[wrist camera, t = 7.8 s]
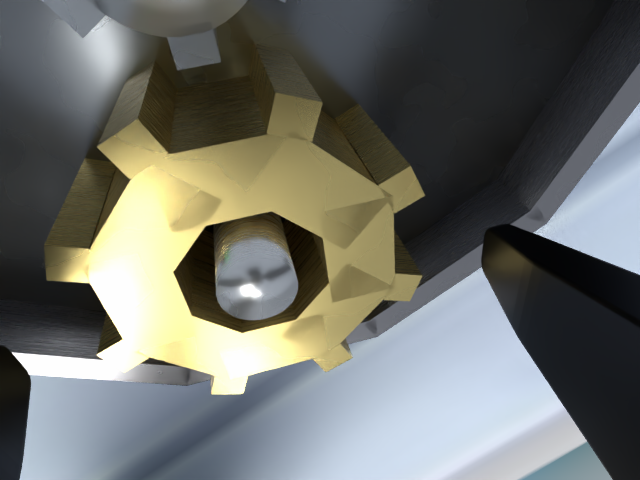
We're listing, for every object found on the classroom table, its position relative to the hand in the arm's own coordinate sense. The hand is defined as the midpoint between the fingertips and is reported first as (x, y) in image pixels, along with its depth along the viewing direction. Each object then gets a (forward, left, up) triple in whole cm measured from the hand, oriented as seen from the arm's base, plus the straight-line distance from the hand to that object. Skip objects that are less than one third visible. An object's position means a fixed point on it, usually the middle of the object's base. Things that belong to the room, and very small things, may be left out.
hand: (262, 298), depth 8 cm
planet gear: (0, 0, -4) cm, 4 cm away
